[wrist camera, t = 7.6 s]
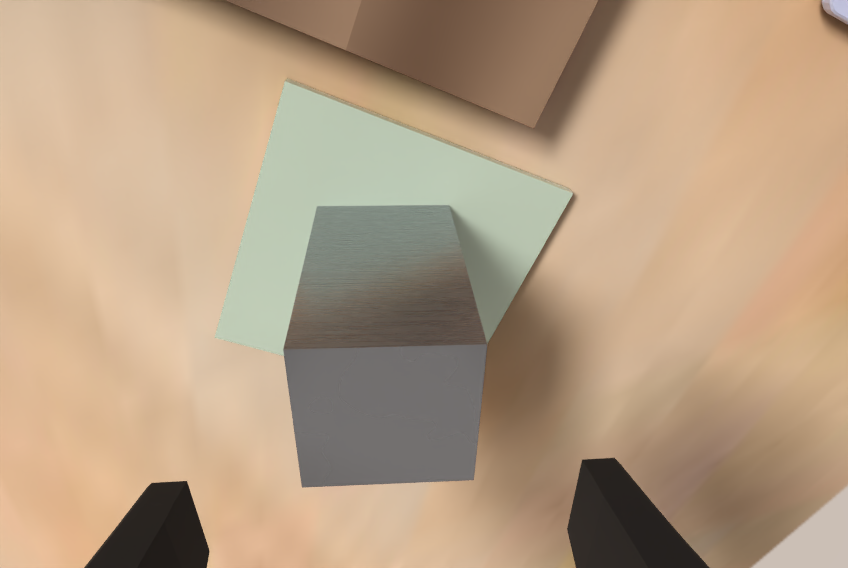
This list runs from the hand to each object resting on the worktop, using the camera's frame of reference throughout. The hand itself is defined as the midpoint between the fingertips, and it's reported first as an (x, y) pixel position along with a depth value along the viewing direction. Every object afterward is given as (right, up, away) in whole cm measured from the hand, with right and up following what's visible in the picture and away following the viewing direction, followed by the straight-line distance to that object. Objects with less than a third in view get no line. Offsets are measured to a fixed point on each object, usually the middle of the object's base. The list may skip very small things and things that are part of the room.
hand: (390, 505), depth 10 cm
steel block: (-1, +5, +8) cm, 9 cm away
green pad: (-1, +5, +8) cm, 9 cm away
